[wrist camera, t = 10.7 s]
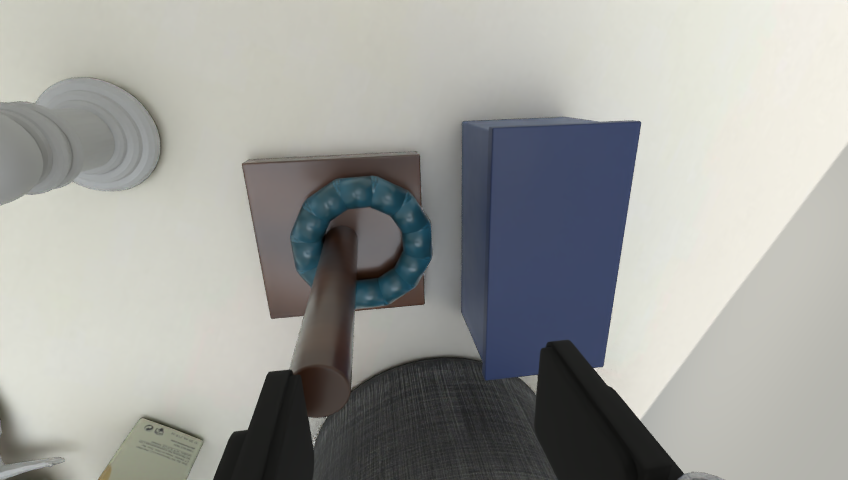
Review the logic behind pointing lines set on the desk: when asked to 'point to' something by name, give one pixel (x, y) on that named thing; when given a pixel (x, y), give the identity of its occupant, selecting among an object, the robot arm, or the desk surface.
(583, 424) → the robot arm
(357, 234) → the peg
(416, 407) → the planter
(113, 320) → the desk surface
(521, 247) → the box
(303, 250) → the ring
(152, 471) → the cosmetic box
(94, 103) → the chess piece
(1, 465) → the figurine
